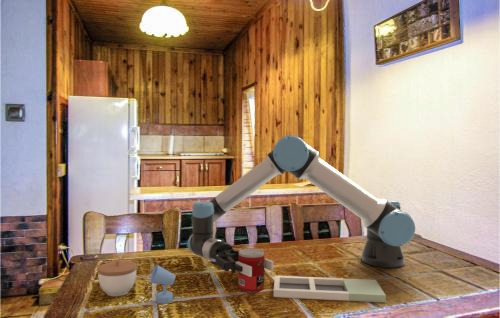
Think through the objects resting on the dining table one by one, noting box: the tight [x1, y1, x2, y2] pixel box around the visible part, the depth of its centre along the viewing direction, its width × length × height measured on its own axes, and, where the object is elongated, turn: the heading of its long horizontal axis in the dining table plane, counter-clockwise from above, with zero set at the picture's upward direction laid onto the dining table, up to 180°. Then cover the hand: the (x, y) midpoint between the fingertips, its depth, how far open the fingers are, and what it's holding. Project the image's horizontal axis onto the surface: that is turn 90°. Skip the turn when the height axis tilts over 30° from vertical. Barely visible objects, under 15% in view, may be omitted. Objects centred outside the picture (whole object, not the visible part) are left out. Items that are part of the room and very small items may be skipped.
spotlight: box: [149, 264, 176, 304], centre depth 102 cm, size 5×10×7 cm
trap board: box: [273, 275, 387, 303], centre depth 109 cm, size 31×12×2 cm, turn 84°
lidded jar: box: [97, 259, 138, 297], centre depth 108 cm, size 11×11×9 cm
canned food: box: [237, 248, 266, 293], centre depth 112 cm, size 8×8×11 cm
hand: (261, 268), depth 108 cm, fingers closed on canned food, 8 cm apart
